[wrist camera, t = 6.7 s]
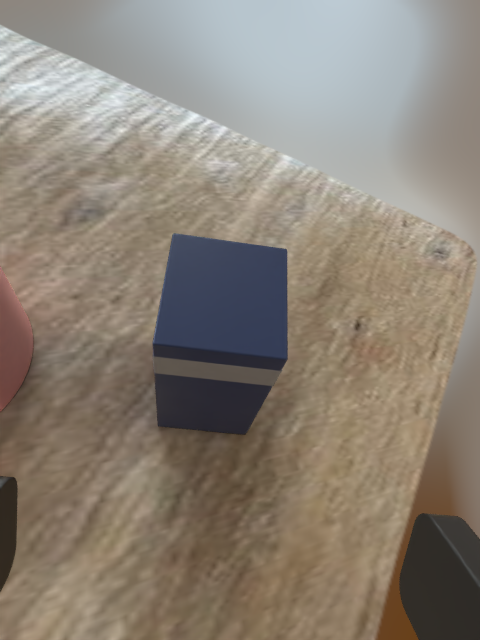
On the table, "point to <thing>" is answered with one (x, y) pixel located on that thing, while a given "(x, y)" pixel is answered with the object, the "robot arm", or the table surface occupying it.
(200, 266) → the carton
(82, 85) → the table surface
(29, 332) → the yogurt tub
